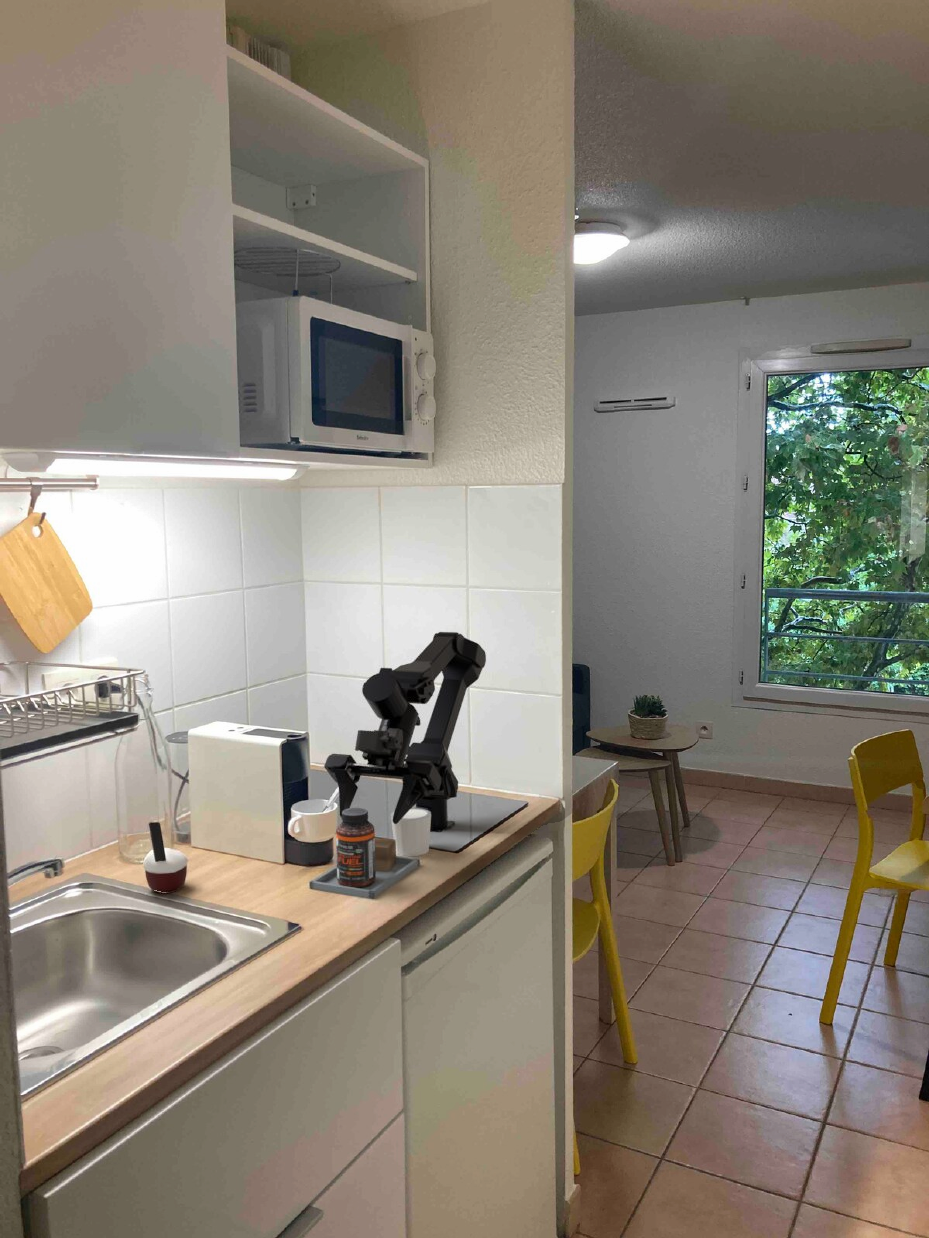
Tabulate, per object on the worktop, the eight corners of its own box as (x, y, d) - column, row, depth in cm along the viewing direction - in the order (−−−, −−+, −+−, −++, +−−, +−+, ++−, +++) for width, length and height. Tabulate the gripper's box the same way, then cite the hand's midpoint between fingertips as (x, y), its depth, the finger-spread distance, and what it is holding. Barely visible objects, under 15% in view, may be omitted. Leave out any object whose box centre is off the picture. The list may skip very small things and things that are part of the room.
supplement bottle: (333, 889, 151) (330, 816, 149) (342, 874, 156) (339, 804, 155) (371, 889, 150) (369, 816, 149) (379, 875, 156) (377, 805, 155)
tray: (360, 859, 165) (360, 850, 165) (419, 868, 160) (419, 858, 160) (309, 892, 151) (309, 881, 151) (372, 902, 147) (372, 892, 146)
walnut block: (373, 861, 162) (372, 837, 162) (396, 863, 161) (395, 839, 161) (364, 870, 158) (363, 845, 158) (388, 872, 157) (387, 847, 157)
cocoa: (168, 879, 159) (163, 805, 158) (201, 882, 156) (197, 807, 156) (128, 899, 150) (123, 820, 149) (162, 902, 148) (158, 823, 147)
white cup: (439, 850, 169) (438, 810, 168) (419, 863, 163) (418, 821, 162) (404, 844, 172) (403, 805, 171) (383, 857, 166) (382, 816, 165)
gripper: (326, 705, 162) (295, 790, 154) (432, 711, 156) (405, 800, 147) (351, 740, 171) (322, 823, 162) (452, 748, 164) (428, 834, 155)
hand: (367, 819), depth 156 cm, fingers open, 9 cm apart
